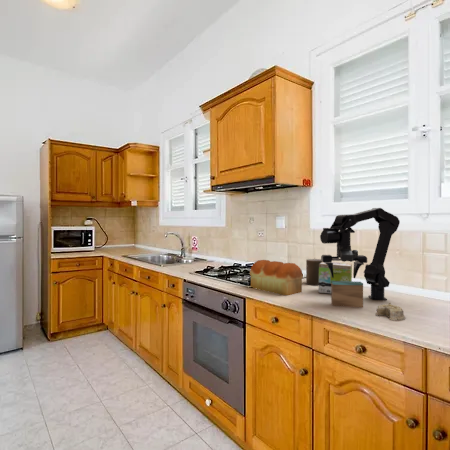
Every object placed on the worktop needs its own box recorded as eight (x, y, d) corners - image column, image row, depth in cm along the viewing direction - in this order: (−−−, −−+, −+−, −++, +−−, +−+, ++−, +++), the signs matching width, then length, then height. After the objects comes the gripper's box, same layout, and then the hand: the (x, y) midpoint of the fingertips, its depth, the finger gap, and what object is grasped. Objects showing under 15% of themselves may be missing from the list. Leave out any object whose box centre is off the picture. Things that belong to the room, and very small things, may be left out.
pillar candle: (319, 286, 177) (319, 258, 176) (303, 283, 183) (303, 257, 183) (326, 283, 184) (326, 257, 184) (310, 281, 190) (310, 256, 190)
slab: (331, 303, 139) (331, 280, 139) (360, 304, 137) (360, 281, 137) (333, 306, 135) (333, 282, 135) (362, 307, 133) (363, 283, 133)
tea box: (318, 293, 159) (318, 263, 159) (321, 289, 168) (321, 261, 168) (350, 296, 153) (350, 265, 153) (351, 292, 162) (352, 262, 162)
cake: (386, 312, 127) (386, 298, 127) (411, 318, 118) (411, 304, 118) (369, 315, 122) (369, 301, 122) (394, 322, 114) (394, 307, 114)
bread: (302, 292, 161) (303, 263, 161) (287, 296, 153) (287, 265, 153) (265, 285, 180) (265, 258, 180) (249, 288, 172) (249, 260, 171)
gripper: (325, 244, 136) (324, 280, 136) (371, 244, 133) (371, 282, 133) (320, 242, 147) (320, 276, 147) (363, 242, 144) (363, 277, 144)
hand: (343, 278), depth 143 cm, fingers open, 9 cm apart
